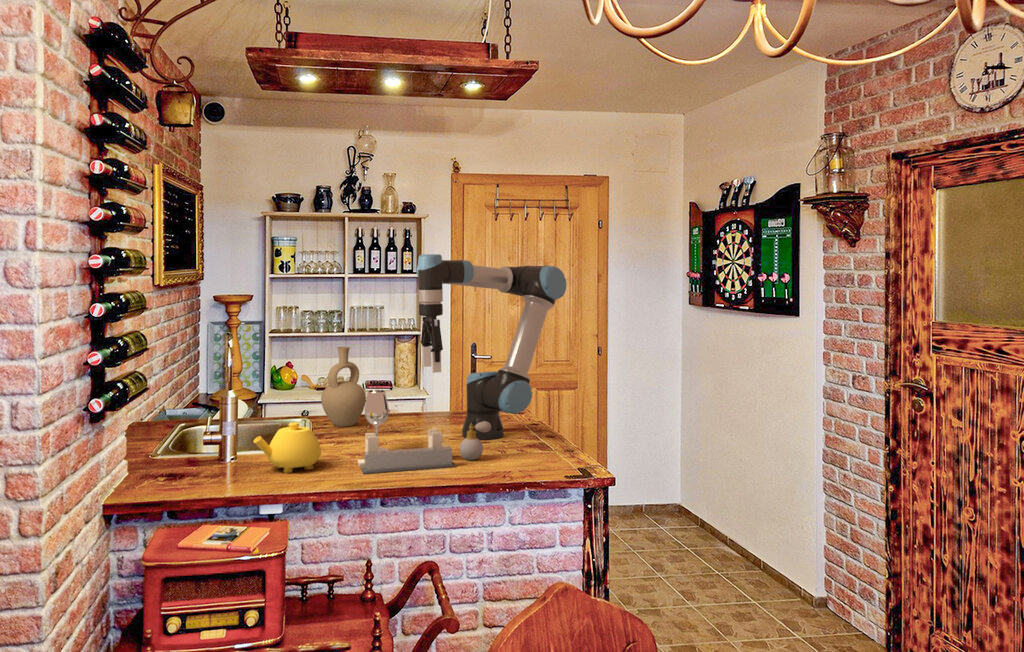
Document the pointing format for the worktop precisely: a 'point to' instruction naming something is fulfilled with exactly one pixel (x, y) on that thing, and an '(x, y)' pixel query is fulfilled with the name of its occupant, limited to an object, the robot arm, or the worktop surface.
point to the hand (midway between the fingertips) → (431, 369)
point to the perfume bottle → (473, 441)
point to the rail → (408, 458)
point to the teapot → (291, 448)
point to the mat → (407, 469)
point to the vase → (343, 394)
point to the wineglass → (376, 409)
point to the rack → (372, 442)
